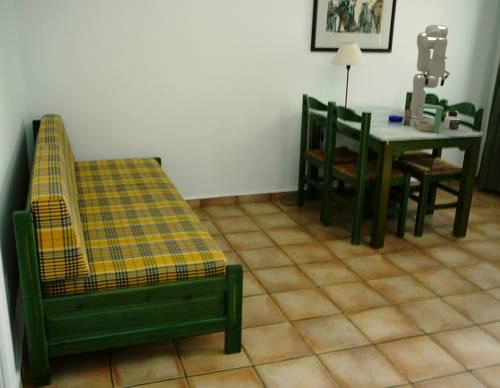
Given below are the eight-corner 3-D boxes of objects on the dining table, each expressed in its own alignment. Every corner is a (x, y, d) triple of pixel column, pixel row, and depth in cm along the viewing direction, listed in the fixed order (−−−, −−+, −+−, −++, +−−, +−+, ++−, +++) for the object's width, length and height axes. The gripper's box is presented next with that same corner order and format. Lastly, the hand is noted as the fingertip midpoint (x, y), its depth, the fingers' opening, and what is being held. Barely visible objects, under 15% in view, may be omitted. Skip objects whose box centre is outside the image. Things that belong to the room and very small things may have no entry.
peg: (403, 124, 359) (405, 109, 355) (408, 124, 358) (411, 109, 355) (404, 125, 355) (406, 110, 352) (410, 125, 355) (412, 110, 351)
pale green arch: (415, 128, 345) (419, 104, 339) (435, 130, 344) (439, 105, 339) (419, 131, 336) (423, 106, 330) (439, 133, 335) (443, 107, 330)
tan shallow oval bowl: (413, 125, 354) (414, 120, 353) (428, 126, 354) (429, 121, 353) (418, 130, 341) (419, 124, 340) (433, 130, 341) (434, 125, 340)
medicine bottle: (448, 130, 347) (451, 111, 343) (442, 127, 353) (445, 110, 350) (458, 130, 348) (461, 112, 344) (452, 127, 355) (455, 110, 351)
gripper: (450, 58, 336) (445, 85, 341) (423, 57, 336) (418, 84, 341) (454, 59, 329) (449, 87, 334) (426, 57, 329) (422, 85, 334)
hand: (434, 85), depth 338 cm, fingers open, 9 cm apart
